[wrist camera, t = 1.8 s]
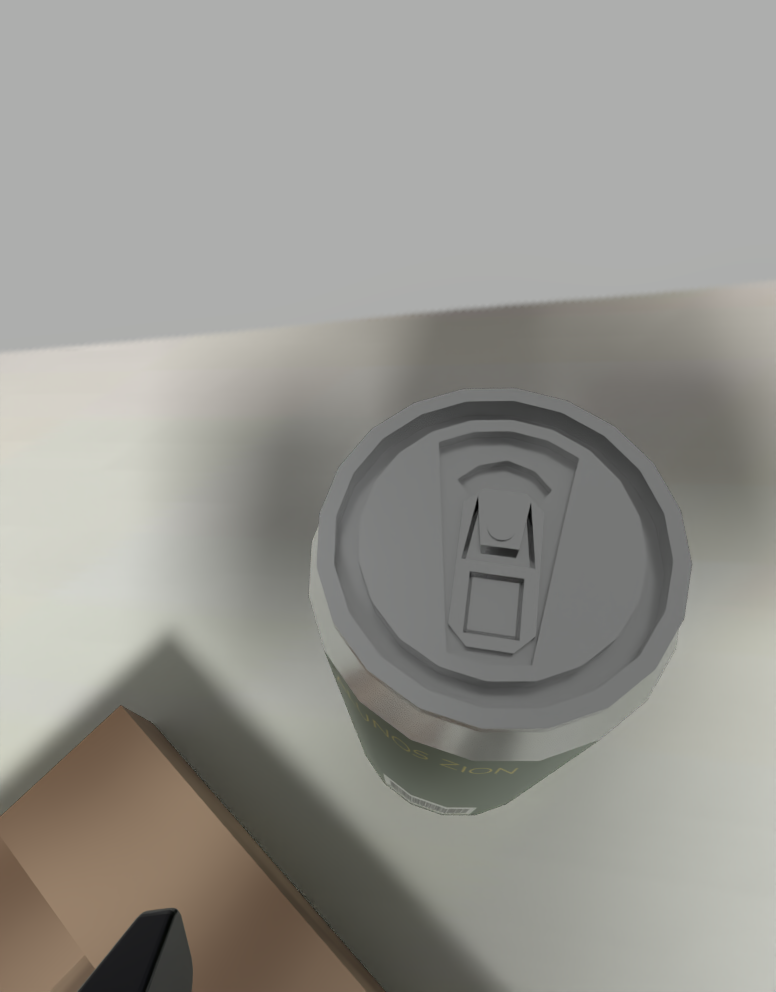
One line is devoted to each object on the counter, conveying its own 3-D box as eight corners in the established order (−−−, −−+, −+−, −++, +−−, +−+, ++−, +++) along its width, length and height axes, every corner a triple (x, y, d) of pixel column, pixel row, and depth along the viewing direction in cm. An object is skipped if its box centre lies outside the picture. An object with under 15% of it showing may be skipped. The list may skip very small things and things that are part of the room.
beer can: (544, 835, 19) (720, 788, 8) (341, 799, 19) (254, 712, 9) (555, 635, 21) (701, 396, 10) (375, 609, 22) (340, 355, 11)
